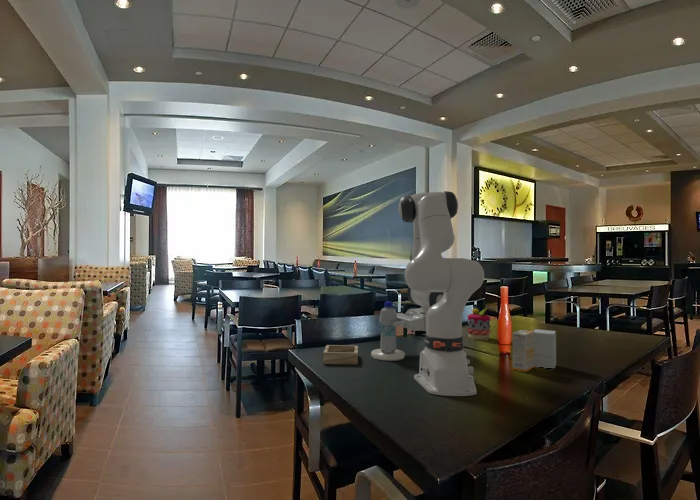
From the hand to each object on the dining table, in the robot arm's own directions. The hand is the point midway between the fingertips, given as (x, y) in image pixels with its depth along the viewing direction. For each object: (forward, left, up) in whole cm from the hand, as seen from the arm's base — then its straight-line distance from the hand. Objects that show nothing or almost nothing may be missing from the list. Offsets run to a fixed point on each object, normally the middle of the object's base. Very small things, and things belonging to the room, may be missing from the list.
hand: (386, 322), depth 157 cm
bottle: (+1, -1, -12) cm, 12 cm away
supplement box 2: (-10, -57, -14) cm, 59 cm away
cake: (+37, -47, -14) cm, 61 cm away
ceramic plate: (0, -1, -13) cm, 14 cm away
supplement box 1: (-14, -48, -14) cm, 51 cm away
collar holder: (-6, +17, -13) cm, 23 cm away
